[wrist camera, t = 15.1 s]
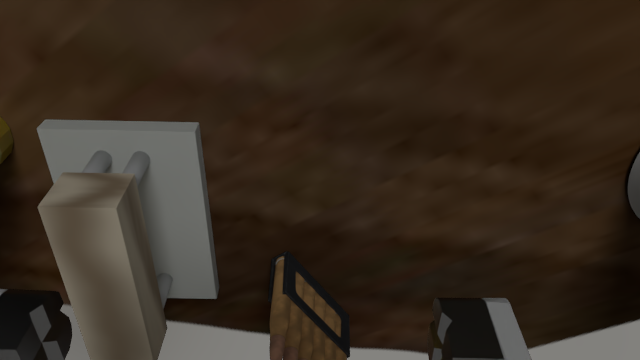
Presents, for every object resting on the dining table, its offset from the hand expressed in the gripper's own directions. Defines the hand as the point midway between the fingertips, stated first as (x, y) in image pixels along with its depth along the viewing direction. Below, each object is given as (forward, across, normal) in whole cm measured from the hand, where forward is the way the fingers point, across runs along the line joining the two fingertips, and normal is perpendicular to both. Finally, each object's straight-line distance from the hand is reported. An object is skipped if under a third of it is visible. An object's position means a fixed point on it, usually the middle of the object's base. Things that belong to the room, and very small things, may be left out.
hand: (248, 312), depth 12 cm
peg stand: (+29, +14, +20) cm, 38 cm away
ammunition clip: (+29, -1, +29) cm, 41 cm away
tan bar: (+23, +14, +20) cm, 34 cm away
